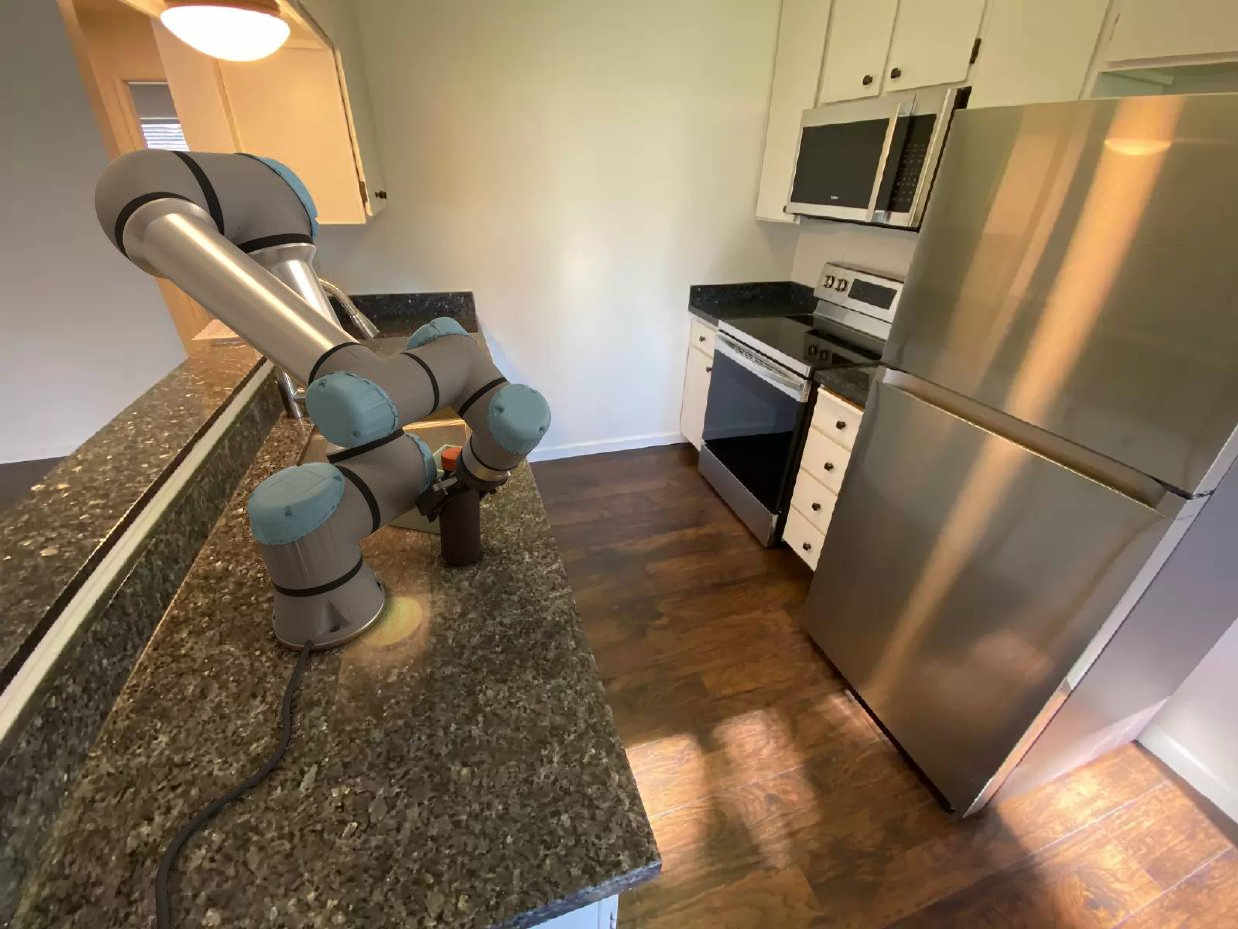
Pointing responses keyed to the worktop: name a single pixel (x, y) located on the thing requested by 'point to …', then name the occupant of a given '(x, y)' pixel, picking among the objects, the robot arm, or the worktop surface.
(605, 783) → the worktop surface
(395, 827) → the worktop surface
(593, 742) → the worktop surface
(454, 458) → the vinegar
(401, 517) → the divided storage box
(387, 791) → the worktop surface
